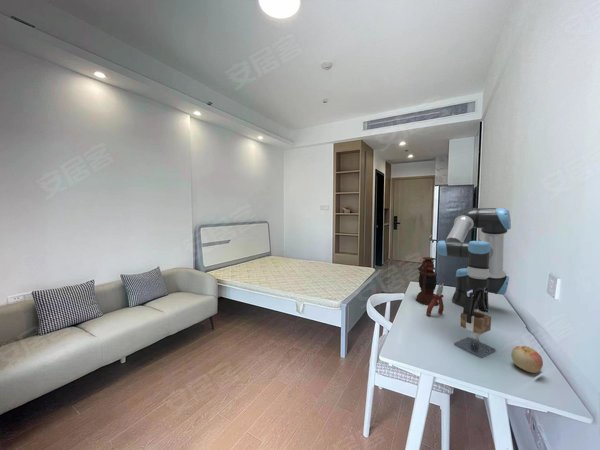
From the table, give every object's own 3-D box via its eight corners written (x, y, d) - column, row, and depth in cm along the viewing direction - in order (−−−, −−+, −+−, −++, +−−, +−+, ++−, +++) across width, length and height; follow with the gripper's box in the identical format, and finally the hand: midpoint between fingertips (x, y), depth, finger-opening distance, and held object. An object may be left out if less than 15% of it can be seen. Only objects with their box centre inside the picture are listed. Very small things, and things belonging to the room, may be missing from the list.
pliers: (435, 284, 133) (432, 282, 135) (428, 317, 137) (424, 314, 139) (450, 283, 137) (446, 281, 139) (443, 314, 141) (439, 312, 143)
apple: (527, 362, 97) (528, 343, 96) (549, 377, 88) (550, 356, 87) (504, 361, 97) (505, 342, 97) (523, 376, 88) (525, 355, 88)
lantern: (434, 309, 148) (436, 261, 146) (411, 303, 158) (412, 258, 156) (442, 301, 161) (443, 257, 159) (420, 296, 170) (421, 254, 169)
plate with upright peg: (468, 339, 114) (469, 318, 113) (495, 351, 104) (496, 328, 104) (454, 344, 109) (455, 323, 108) (481, 358, 99) (482, 334, 99)
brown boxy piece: (470, 322, 111) (471, 309, 111) (490, 330, 104) (491, 316, 104) (460, 326, 108) (460, 313, 107) (480, 334, 101) (480, 320, 100)
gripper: (481, 272, 113) (478, 319, 114) (454, 277, 103) (452, 329, 105) (500, 276, 106) (497, 326, 107) (473, 282, 97) (471, 337, 98)
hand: (475, 327), depth 106 cm, fingers closed on brown boxy piece, 8 cm apart
